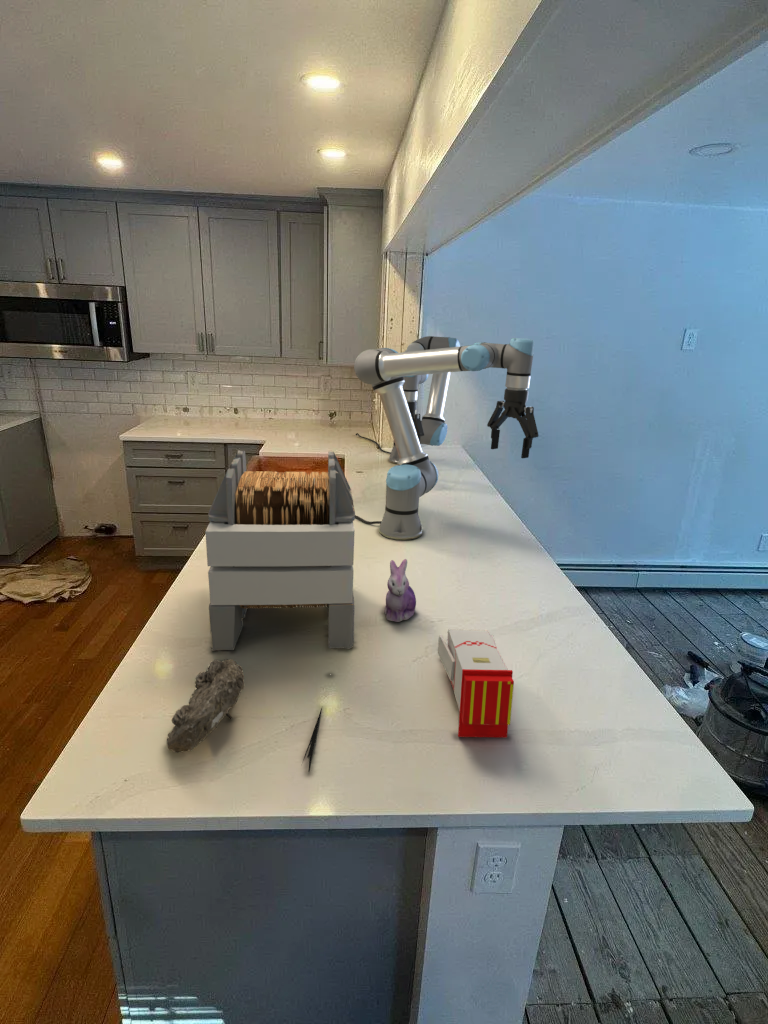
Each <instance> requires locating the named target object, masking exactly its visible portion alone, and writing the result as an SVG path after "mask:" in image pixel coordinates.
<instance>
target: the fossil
mask: <svg viewBox="0 0 768 1024" xmlns="http://www.w3.org/2000/svg"><path fill="white" fill-rule="evenodd" d="M243 670H244V669H243V667H242V665H240V664H237V662H236V661H235V660H234V659H232V658H231V659H227V658H226V659H224V660H223V661H222V660H217V659H212V660H211V661H210V663H209V665H208V666H207V671H201V672H199V673H198V674H197V675H196V676H195V680H194V684H195V685H194V687H195V689H194V690H193V693H192V694H191V697H190V698H189V700H188V704H184V705H182V706H181V707H180V709H177V710H176V711H175V713H174V715H173V716H172V718H171V723H172V724H173V727H172V730H171V731H170V732H168V734H167V738H166V741H167V742H166V745H167V749H168V750H169V751H173V752H174V753H176V754H178V753H182V752H188V751H189V752H192V751H193V750H195V748H196V747H197V746H199V744H200V743H201V742H203V741H204V740H205V739H206V738H207V737H208V736H209V735H210V734H211V733H212V732H214V730H215V729H217V727H218V726H219V724H220V722H221V721H222V720H223V719H224V718H225V716H226V717H227V719H229V720H233V717H232V715H230V714H229V710H230V709H231V708H234V706H235V704H236V703H237V702H238V699H239V697H240V695H241V693H242V691H243V690H245V689H244V688H245V675H244V671H243Z"/></svg>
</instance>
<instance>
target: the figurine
mask: <svg viewBox="0 0 768 1024" xmlns="http://www.w3.org/2000/svg"><path fill="white" fill-rule="evenodd" d="M407 567H408V559H406V558H404V559H403V560H402V561H401V563H400V565H399V566H398V565H397V563H396V562H395V561H394V560H393V559H391V560H390V561H389V570H390V576H389V578H388V579H387V589H388V591H387V592H386V594H385V595H386V596H385V607H384V615H385V616H386V620H387V621H391V622H395V623H400V622H402V621H406V620H409V619H410V618H411V617H413V616H414V615H415V610H416V606H417V597H416V593H415V591H414V590H413V587H411V586H410V582H409V579H408V577H407V574H406V571H407Z"/></svg>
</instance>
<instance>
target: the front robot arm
mask: <svg viewBox="0 0 768 1024" xmlns="http://www.w3.org/2000/svg"><path fill="white" fill-rule="evenodd" d="M534 347H535V341H534V340H533V339H531V338H519V337H513V338H511V339H510V341H509V343H505V344H503V343H493V342H482V341H481V342H474V343H473V344H470V345H469V344H468V345H463V346H461V345H460V346H459V347H450V348H440V349H430V350H420V351H411V352H405V351H402V352H401V351H400V352H399V351H397V350H395V349H393V348H389V347H381V348H371V349H370V348H369V349H365V350H364V351H361V352H360V353H359V354H358V356H356V358H355V361H354V364H353V365H354V366H353V370H354V373H355V376H356V377H357V379H358V380H359V381H360V382H362V383H363V384H367V385H371V388H372V391H373V393H376V394H378V396H379V399H380V402H381V405H382V407H383V410H384V411H383V412H384V414H385V417H386V420H387V423H388V426H389V429H390V432H391V435H392V438H393V443H394V442H395V445H396V448H397V451H398V454H399V457H400V459H399V461H398V463H397V464H396V465H393V466H392V467H390V468H389V469H388V471H387V473H386V478H385V504H384V505H385V507H384V508H385V509H384V513H383V515H382V519H381V520H374V521H368V520H365V518H364V519H363V518H362V517H360V516H358V515H356V514H355V519H357V520H359V521H361V522H363V523H364V524H367V525H378V524H379V526H378V533H379V534H380V535H381V536H382V537H385V538H387V539H389V540H395V541H410V540H415V539H418V538H420V537H421V536H422V535H423V525H422V524H421V518H420V515H419V507H420V506H419V505H420V498H421V497H423V496H424V495H426V494H427V493H429V492H431V491H432V490H433V489H434V488H435V486H436V485H437V483H438V481H439V471H438V467H437V466H436V465H435V464H434V462H432V461H431V460H430V458H429V454H428V453H427V452H424V451H423V449H422V446H421V444H420V442H419V439H418V436H417V433H416V430H415V427H414V423H413V420H412V417H411V414H410V411H409V408H408V404H407V401H406V398H405V395H404V392H403V389H402V386H403V384H404V382H405V381H404V377H403V376H413V375H425V374H428V375H433V374H436V373H448V372H450V373H456V372H459V373H460V372H479V371H481V370H486V369H489V368H492V369H506V377H505V385H504V387H505V389H504V394H503V400H497V401H496V405H495V408H494V410H493V412H492V414H491V416H490V417H489V420H488V422H487V424H486V426H487V427H488V428H490V430H491V431H490V439H491V441H490V442H491V443H490V450H497V449H499V443H500V435H501V434H500V433H501V429H500V427H501V426H502V425H503V424H504V422H506V420H507V419H508V418H512V419H516V421H518V423H519V426H520V428H521V430H522V432H523V434H524V438H523V440H522V449H521V454H520V455H521V456H520V457H521V458H520V459H528V458H529V455H530V450H531V449H532V445H533V439H535V438H539V435H540V434H539V431H538V427H537V423H536V418H535V413H534V411H535V407H534V406H527V405H526V404H527V402H528V400H529V392H530V391H529V390H528V389H530V383H531V374H532V369H533V360H534V351H535V348H534Z"/></svg>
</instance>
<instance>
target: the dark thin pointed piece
mask: <svg viewBox="0 0 768 1024" xmlns="http://www.w3.org/2000/svg"><path fill="white" fill-rule="evenodd" d="M329 675H330V676H331V675H332V674H331V673H330V674H329ZM322 710H323V707H321V708H320V710H319V713H318V716H317V719H316V723H315V725H314V728H313V731H312V733H311V737H310V739H309V742H308V745H307V748H306V751H305V754H304V757H303V760H302V763H301V767H302V765H303V763H304V761H305V758H308V759H309V760H308V762H307V763H308V764H307V766H308V771H310V770H311V766H312V765H311V764H312V760H313V757H315V756H314V755H315V751H316V749H315V746H317V739H318V733H319V729H320V722H321V717H322V712H323V711H322ZM313 754H314V755H313ZM306 755H307V757H306Z"/></svg>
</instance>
